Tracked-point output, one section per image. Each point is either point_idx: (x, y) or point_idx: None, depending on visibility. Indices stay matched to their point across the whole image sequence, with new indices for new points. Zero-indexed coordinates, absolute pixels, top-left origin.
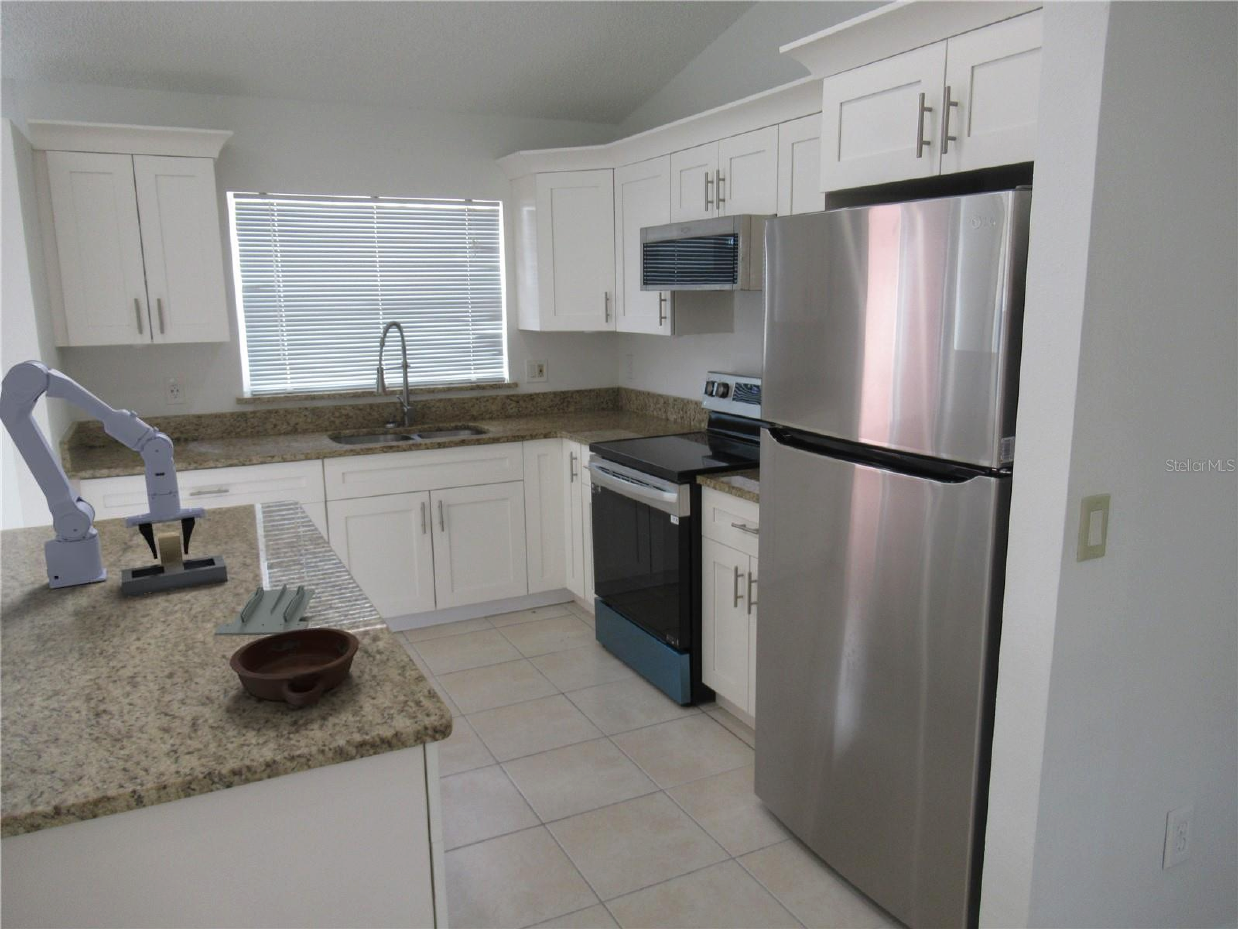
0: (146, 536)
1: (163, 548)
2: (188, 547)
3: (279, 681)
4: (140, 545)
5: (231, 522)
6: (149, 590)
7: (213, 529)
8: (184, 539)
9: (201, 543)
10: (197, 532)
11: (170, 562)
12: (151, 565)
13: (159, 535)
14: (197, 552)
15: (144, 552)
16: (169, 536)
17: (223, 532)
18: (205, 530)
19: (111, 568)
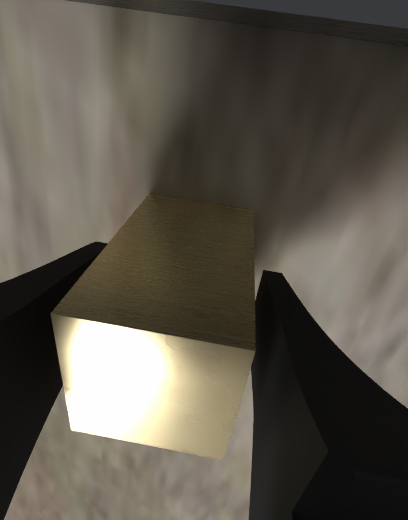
0: (381, 403)
1: (224, 278)
2: (65, 257)
3: None
4: (234, 510)
5: (12, 513)
6: None
7: (49, 501)
8: (45, 289)
9: (75, 434)
10: (87, 505)
11: (230, 5)
12: (400, 22)
13: (218, 421)
14: None
15: (243, 463)
16: (145, 344)
17: None
18: (69, 506)
19: (403, 392)
